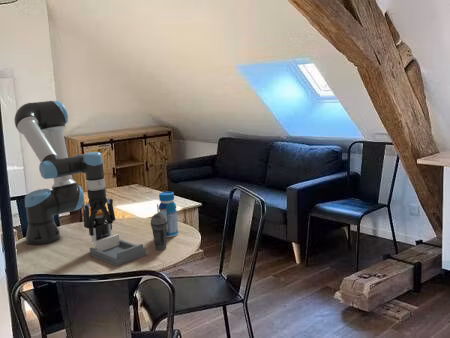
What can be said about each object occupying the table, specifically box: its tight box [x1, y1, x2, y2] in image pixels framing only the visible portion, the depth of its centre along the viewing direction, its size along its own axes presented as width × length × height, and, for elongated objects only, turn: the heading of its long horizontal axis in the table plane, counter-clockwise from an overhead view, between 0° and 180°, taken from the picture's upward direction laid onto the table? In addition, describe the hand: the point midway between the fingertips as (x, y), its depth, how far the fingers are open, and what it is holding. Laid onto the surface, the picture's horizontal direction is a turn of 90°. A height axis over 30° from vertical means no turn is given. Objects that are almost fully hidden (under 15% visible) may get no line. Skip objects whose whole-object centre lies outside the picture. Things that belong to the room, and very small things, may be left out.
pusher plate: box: [93, 233, 120, 251], centre depth 209 cm, size 1×11×5 cm, turn 136°
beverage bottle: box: [158, 191, 179, 238], centre depth 225 cm, size 8×8×20 cm
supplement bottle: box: [93, 214, 110, 245], centre depth 211 cm, size 7×7×12 cm
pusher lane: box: [89, 238, 147, 267], centre depth 204 cm, size 20×15×5 cm
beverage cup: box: [150, 203, 168, 251], centre depth 208 cm, size 7×7×20 cm
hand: (101, 239), depth 212 cm, fingers closed on supplement bottle, 7 cm apart
